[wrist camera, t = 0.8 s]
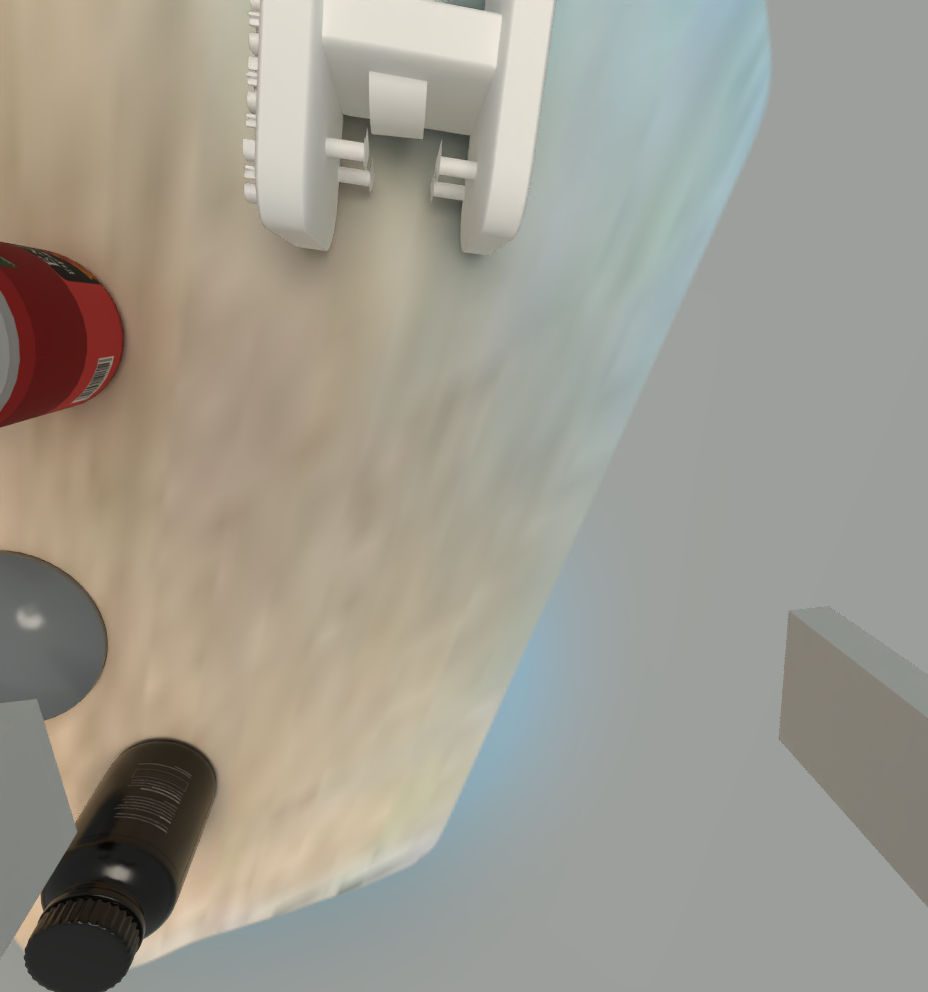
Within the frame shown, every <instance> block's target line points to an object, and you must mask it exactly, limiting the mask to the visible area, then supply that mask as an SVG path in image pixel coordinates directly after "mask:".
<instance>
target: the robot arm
mask: <svg viewBox="0 0 928 992" xmlns="http://www.w3.org/2000/svg"><path fill="white" fill-rule="evenodd" d="M779 740H780V741H781V742H782V743H783V744H784V745H785V747H786V748H787V749H788V750H789V751H790V752H791V753H792V754H793V756H794V757H795V758H796V759H797V760H798V761H799V762H800V764H801V765H802V766H803V767H804V768H805V769H806V770H807V771H808V773H809V774H810V775H811V776H812V777H813V778H814V779H815V780H816V782H817V783H818V784H819V785H820V786H821V787H822V788H823V789H824V791H825V792H826V793H827V794H828V795H829V796H830V797H831V798H832V800H833V801H834V802H835V803H836V804H837V805H838V806H839V807H840V809H841V810H842V811H843V812H844V813H845V814H846V815H847V817H848V818H849V819H850V820H851V821H852V822H853V823H854V824H855V825H856V827H857V828H858V829H859V830H860V831H861V832H862V833H863V835H864V836H865V837H866V838H867V839H868V840H869V841H870V842H871V844H872V845H873V846H874V847H875V848H876V849H877V850H878V851H879V853H880V854H881V855H882V856H883V857H884V858H885V859H886V861H887V862H888V863H889V864H890V865H891V866H892V867H893V868H894V870H895V871H896V872H897V873H898V874H899V875H900V876H901V877H902V878H903V880H904V881H905V882H906V883H907V884H908V885H909V886H910V888H911V889H912V890H913V891H914V892H915V893H916V894H917V895H918V897H919V898H920V899H921V900H922V901H923V902H924V903H925V904H926V905H927V907H928V674H927V673H925V672H924V671H922V670H921V669H919V668H918V667H916V666H915V665H914V664H912V663H911V662H909V661H908V660H906V659H905V658H904V657H902V656H900V655H899V654H898V653H896V652H895V651H893V650H892V649H890V648H889V647H888V646H886V645H885V644H883V643H882V642H880V641H879V640H877V639H876V638H875V637H873V636H872V635H870V634H869V633H867V632H866V631H864V630H863V629H862V628H860V627H858V626H857V625H856V624H854V623H853V622H851V621H850V620H848V619H847V618H846V617H844V616H842V615H841V614H840V613H838V612H836V611H835V610H834V609H832V608H831V607H829V606H825V607H816V608H807V609H799V610H790V611H789V615H788V628H787V640H786V653H785V666H784V680H783V691H782V704H781V717H780V729H779ZM76 834H77V829H76V826H75V823H74V819H73V816H72V813H71V809H70V806H69V803H68V800H67V796H66V793H65V790H64V786H63V783H62V780H61V776H60V773H59V770H58V767H57V763H56V760H55V757H54V753H53V750H52V747H51V744H50V740H49V737H48V734H47V730H46V727H45V724H44V720H43V717H42V714H41V711H40V707H39V704H38V701H37V699H32V700H23V701H15V702H6V703H0V959H1V957H2V956H3V954H4V952H5V951H6V949H7V948H8V946H9V944H10V943H11V941H12V939H13V938H14V936H15V934H16V933H17V931H18V929H19V928H20V926H21V924H22V923H23V921H24V920H25V918H26V916H27V915H28V913H29V911H30V910H31V908H32V906H33V905H34V903H35V901H36V900H37V898H38V896H39V895H40V893H41V892H42V890H43V888H44V887H45V885H46V883H47V882H48V880H49V878H50V877H51V875H52V873H53V872H54V870H55V868H56V867H57V865H58V864H59V862H60V860H61V859H62V857H63V855H64V854H65V852H66V850H67V849H68V847H69V845H70V844H71V842H72V840H73V839H74V837H75V835H76Z"/></svg>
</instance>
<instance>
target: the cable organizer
mask: <svg viewBox="0 0 928 992" xmlns="http://www.w3.org/2000/svg"><path fill="white" fill-rule="evenodd" d="M250 1H251V7H252V11H253V12H252V11H250V12H248V15H249V17H250V26H254V27H255V29H256V33H253V32H250V34H249V44H250V49H251V51H252V53H253V54H254V55H255V57H254V56H249V59H248V69H250V70H255V72H250V71H248V73H246V76H247V77H248V85H251V86H253V87H254V92H253V91H248V93H247V103H248V108H249V110H250V112H251V113H252V114H248V113H247V118H248V119H247V121H246V126H247V127H252V128H255V141H254V140H248V139H243V155H244V158H245V160H246V161H252V162H254V166H255V167H254V166H247V165H245V169H246V171H245V178H251V179H255V184H252V183H245V186H244V195H245V199H246V201H247V202H249V203H256V204H257V205H258V210H259V215H260V218H261V221H262V223H263V225H264V226H265V227H266V228H267V229H269V230H270V231H272V232H273V233H275V234H277V235H278V236H280V237H281V238H283V239H284V240H286V241H287V242H289V243H290V244H292V245H293V246H295V247H300V248H307V249H315V250H322V251H328V249H329V248H330V245H331V243H332V239H333V235H334V229H335V223H336V215H337V204H338V190H339V182H343V183H350V184H356V185H363V186H369V190H370V197H371V192H372V188H373V183H374V168H373V158H372V166H370V171H367V170H366V168H367V163H368V158H369V153H370V152H369V140H368V129H367V133H366V139H365V136H364V143H361V142H355V141H349V140H342V131H343V116H344V115H348V116H353V117H360V118H366V119H370V126H371V133H372V134H377V135H386V136H396V137H405V138H415V139H423V133H424V128H426V129H432V130H439V131H445V132H451V133H457V134H463V135H470V141H469V150H468V159H467V160H461V159H455V158H449V157H442V156H441V154H442V150H441V148H442V141H441V145H440V148H439V152H438V156H437V159H436V166H435V167H436V181H435V170H434V174H433V177H432V181H431V185H430V195H431V203H432V200H433V196H435V197H442V198H449V199H455V200H462V201H463V203H462V213H461V229H460V240H461V249H462V251H463V252H466V253H474V254H481V255H490V254H491V253H493V252H494V251H496V250H497V249H499V248H500V247H502V246H503V245H505V244H506V243H508V242H509V241H511V240H512V239H514V237H515V236H516V235H517V232H518V230H519V228H520V225H521V222H522V219H523V216H524V212H525V208H526V204H527V199H528V195H529V189H530V184H531V178H532V172H533V165H534V157H535V150H536V143H537V136H538V128H539V121H540V114H541V107H542V99H543V92H544V85H545V78H546V70H547V63H548V56H549V49H550V41H551V34H552V27H553V19H554V12H555V5H556V0H485V9H484V11H483V10H478V9H472V8H467V7H462V6H457V5H451V4H446V3H441V2H436V1H435V0H250ZM448 1H449V0H448ZM254 114H255V115H254ZM341 159H348V160H354V161H360V162H363V166H364V167H365V170H361V169H355V168H348V167H342V166H340V160H341ZM439 175H444V176H451V177H457V178H464V179H465V185H458V184H452V183H445V182H439V181H438V179H439Z"/></svg>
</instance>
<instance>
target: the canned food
mask: <svg viewBox="0 0 928 992" xmlns="http://www.w3.org/2000/svg"><path fill="white" fill-rule="evenodd" d="M122 351H123V328H122V323H121V318H120V316H119V313H118V311H117V308H116V305H115V303H114V302H113V300H112V298H111V297H110V295H109V293H108V292H107V290H106V289H105V288H104V287H103V286H102V285H101V284H100V282H99V281H98V280H97V279H96V278H95V277H94V276H93V275H92V274H91V273H89V272H88V271H87V270H86V269H84V268H83V267H82V266H81V265H80V264H78V263H76V262H74V261H72V260H70V259H69V258H67V257H65V256H62V255H59V254H56V253H53V252H50V251H46V250H41V249H36V248H30V247H25V246H20V245H15V244H9V243H4V242H0V427H3V426H7V425H10V424H14V423H17V422H21V421H24V420H28V419H31V418H34V417H38V416H41V415H45V414H48V413H52V412H55V411H59V410H62V409H65V408H69V407H72V406H75V405H79V404H82V403H84V402H86V401H87V400H89V399H91V398H93V397H95V396H96V395H97V394H98V393H99V392H100V391H101V390H102V389H104V388H105V387H106V385H107V384H108V382H109V381H110V380H111V378H112V377H113V375H114V374H115V372H116V370H117V367H118V365H119V363H120V360H121V356H122Z"/></svg>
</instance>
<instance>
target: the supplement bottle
mask: <svg viewBox="0 0 928 992" xmlns="http://www.w3.org/2000/svg"><path fill="white" fill-rule="evenodd" d="M215 794H216V780H215V776H214V773H213V771H212V769H211V767H210V765H209V764H208V763H207V761H206V760H205V759H204V758H203V757H202V756H201V755H200V754H199V753H197V752H196V751H194V750H193V749H191V748H189V747H187V746H185V745H182V744H179V743H175V742H169V741H153V742H147V743H143V744H139V745H137V746H134V747H132V748H130V749H129V750H127V751H125V752H124V753H123V754H121V755H120V756H119V757H118V758H117V759H116V760H115V761H114V763H113V764H112V765H111V767H110V768H109V770H108V771H107V773H106V774H105V776H104V777H103V779H102V781H101V782H100V784H99V785H98V787H97V789H96V790H95V792H94V793H93V795H92V797H91V798H90V800H89V801H88V803H87V805H86V806H85V808H84V809H83V811H82V813H81V814H80V816H79V817H78V819H77V821H76V822H75V826H76V829H77V834H76V835H75V837H74V839H73V840H72V842H71V844H70V845H69V847H68V849H67V850H66V852H65V854H64V855H63V857H62V859H61V860H60V862H59V864H58V865H57V867H56V868H55V870H54V872H53V873H52V875H51V877H50V878H49V880H48V882H47V883H46V885H45V887H44V888H43V890H42V892H41V904H42V909H43V914H42V915H41V917H40V919H39V921H38V924H37V926H36V928H35V930H34V931H33V933H32V935H31V937H30V938H29V941H28V944H27V946H26V948H25V955H24V960H25V966H26V968H27V969H28V973H29V974H30V975H31V976H32V978H33V980H35V981H37V982H38V983H39V985H41V986H44V987H45V988H46V989H48V990H52V991H54V992H104V991H107V990H108V989H109V988H112V987H114V986H115V984H117V983H119V982H120V981H121V980H122V978H123V977H124V976H125V975H126V973H127V972H128V969H129V967H130V965H131V963H132V961H133V958H134V956H135V953H136V952H137V951H138V949H139V947H140V945H141V943H142V941H143V939H145V938H146V937H148V936H149V935H151V934H152V933H154V932H155V931H156V930H157V929H158V928H159V927H161V926H162V924H163V923H164V922H165V921H166V920H167V919H168V917H169V916H170V914H171V913H172V911H173V909H174V907H175V904H176V902H177V900H178V897H179V895H180V892H181V889H182V887H183V884H184V881H185V878H186V876H187V873H188V870H189V868H190V865H191V862H192V860H193V857H194V854H195V851H196V849H197V846H198V843H199V841H200V838H201V835H202V833H203V830H204V827H205V824H206V822H207V819H208V816H209V814H210V811H211V808H212V805H213V802H214V798H215Z"/></svg>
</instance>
